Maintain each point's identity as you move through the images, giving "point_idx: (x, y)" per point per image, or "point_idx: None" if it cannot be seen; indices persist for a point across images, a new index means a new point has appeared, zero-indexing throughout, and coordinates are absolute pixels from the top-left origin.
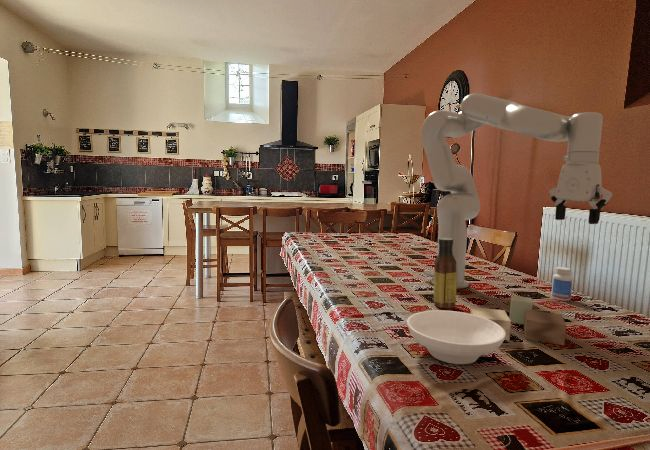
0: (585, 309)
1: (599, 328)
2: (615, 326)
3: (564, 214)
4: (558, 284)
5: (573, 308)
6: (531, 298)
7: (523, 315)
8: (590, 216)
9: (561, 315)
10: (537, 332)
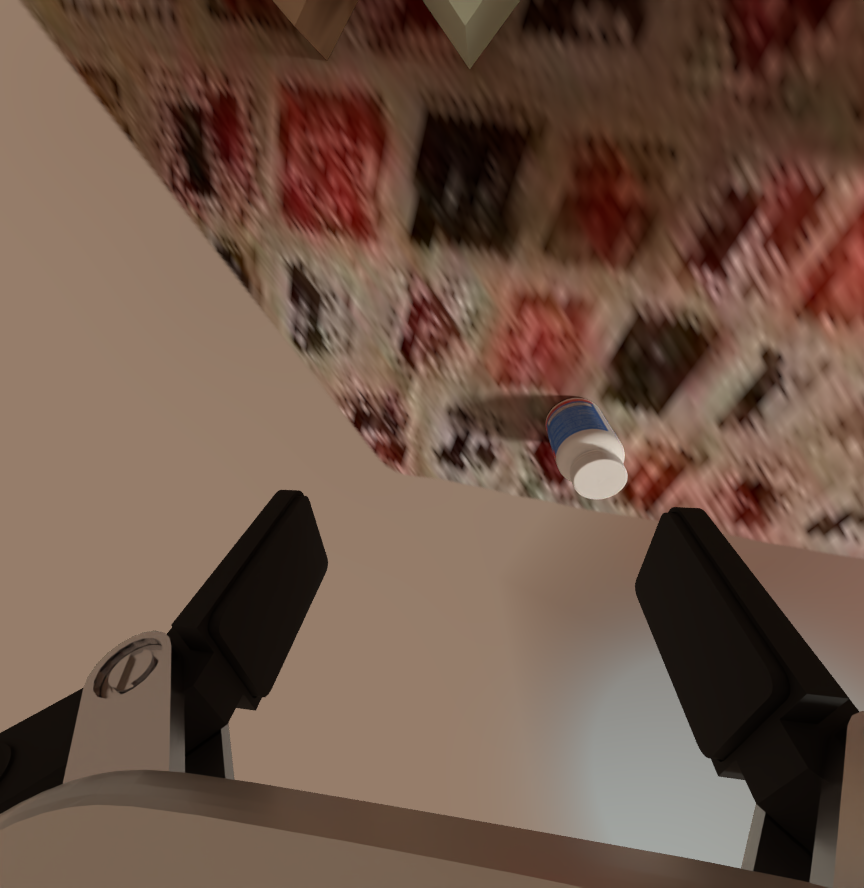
0: (473, 393)
1: (343, 271)
2: (348, 335)
3: (657, 630)
4: (581, 421)
5: (493, 369)
6: (459, 14)
7: None
8: (248, 541)
9: (282, 8)
10: None
